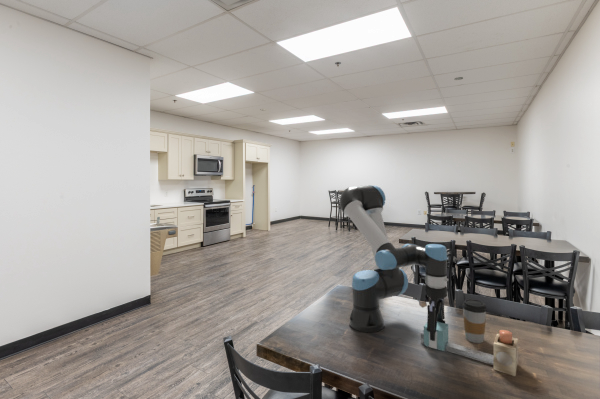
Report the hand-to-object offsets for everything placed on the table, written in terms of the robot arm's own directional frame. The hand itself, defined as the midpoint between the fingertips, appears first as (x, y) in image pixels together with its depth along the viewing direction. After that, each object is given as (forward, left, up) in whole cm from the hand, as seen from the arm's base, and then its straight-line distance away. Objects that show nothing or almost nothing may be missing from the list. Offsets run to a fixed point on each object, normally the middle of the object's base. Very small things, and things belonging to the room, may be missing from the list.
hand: (436, 342), depth 116 cm
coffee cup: (+11, +13, -1) cm, 17 cm away
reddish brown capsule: (+22, 0, +8) cm, 24 cm away
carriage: (0, 0, -1) cm, 1 cm away
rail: (+8, 0, -1) cm, 8 cm away
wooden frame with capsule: (+22, 0, -1) cm, 22 cm away
